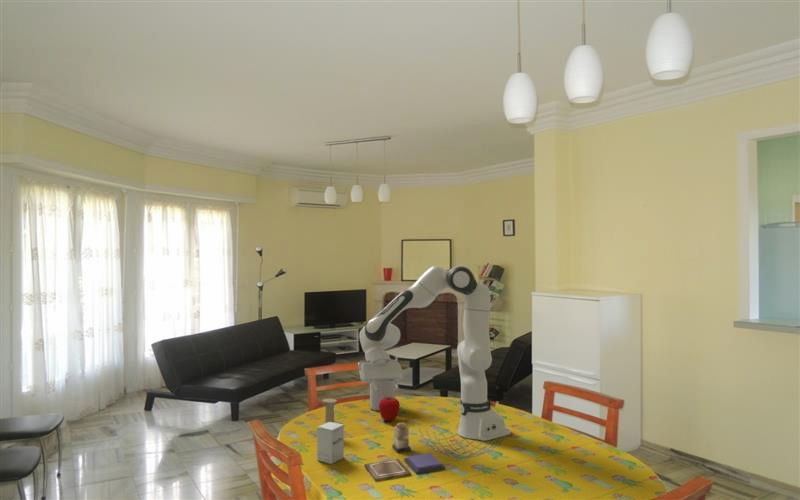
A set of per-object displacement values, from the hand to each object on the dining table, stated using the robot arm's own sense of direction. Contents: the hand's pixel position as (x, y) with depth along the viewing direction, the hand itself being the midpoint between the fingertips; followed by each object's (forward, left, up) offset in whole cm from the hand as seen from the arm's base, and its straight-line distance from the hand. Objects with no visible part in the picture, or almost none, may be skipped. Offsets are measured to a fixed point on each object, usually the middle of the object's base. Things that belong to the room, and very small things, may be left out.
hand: (387, 389), depth 209 cm
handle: (+21, -15, -21) cm, 33 cm away
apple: (-9, -25, -21) cm, 34 cm away
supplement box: (+26, +9, -21) cm, 35 cm away
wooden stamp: (-2, +10, -21) cm, 23 cm away
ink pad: (-5, +27, -21) cm, 35 cm away
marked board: (+9, +27, -21) cm, 35 cm away
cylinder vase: (-12, -44, -21) cm, 50 cm away
